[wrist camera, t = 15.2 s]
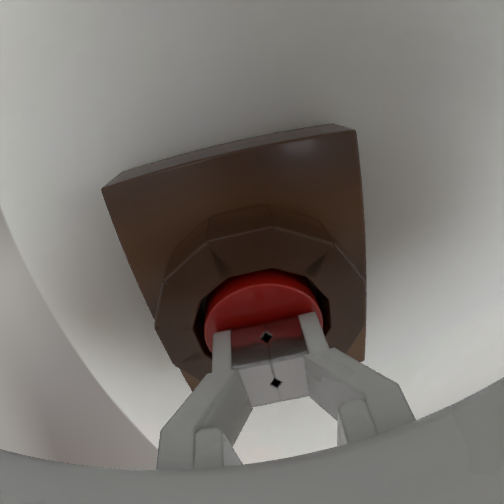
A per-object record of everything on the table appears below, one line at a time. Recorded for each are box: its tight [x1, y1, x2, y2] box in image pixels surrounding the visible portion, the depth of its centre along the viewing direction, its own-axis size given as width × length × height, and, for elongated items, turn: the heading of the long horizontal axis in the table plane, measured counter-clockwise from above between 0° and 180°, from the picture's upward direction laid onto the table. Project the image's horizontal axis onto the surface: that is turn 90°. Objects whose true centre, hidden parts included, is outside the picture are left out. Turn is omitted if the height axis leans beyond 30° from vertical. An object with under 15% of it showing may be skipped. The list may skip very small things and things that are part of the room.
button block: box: [101, 124, 366, 392], centre depth 11 cm, size 10×8×4 cm
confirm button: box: [204, 268, 323, 354], centre depth 10 cm, size 4×4×2 cm
